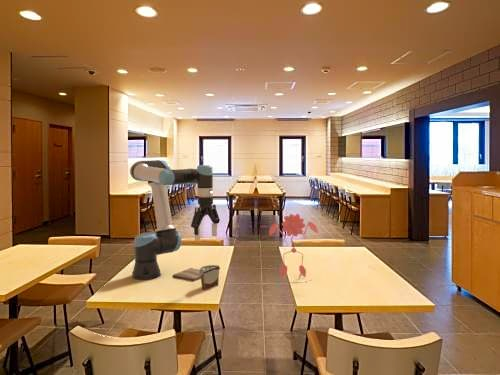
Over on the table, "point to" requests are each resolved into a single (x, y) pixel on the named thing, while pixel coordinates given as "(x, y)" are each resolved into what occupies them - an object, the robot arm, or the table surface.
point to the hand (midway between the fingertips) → (206, 238)
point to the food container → (209, 276)
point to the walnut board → (189, 274)
